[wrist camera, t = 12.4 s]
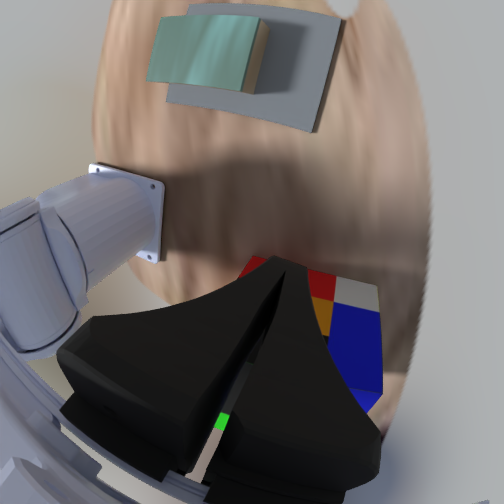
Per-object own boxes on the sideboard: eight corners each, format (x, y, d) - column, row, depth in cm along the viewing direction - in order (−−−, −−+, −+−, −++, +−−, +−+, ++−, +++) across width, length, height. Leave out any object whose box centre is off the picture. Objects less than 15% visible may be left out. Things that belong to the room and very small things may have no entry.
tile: (253, 94, 16) (166, 82, 17) (270, 29, 13) (180, 25, 14) (239, 91, 14) (145, 81, 15) (259, 17, 11) (161, 17, 12)
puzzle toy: (376, 285, 19) (382, 393, 11) (340, 366, 24) (324, 457, 16) (253, 255, 22) (192, 343, 13) (244, 341, 27) (201, 422, 18)
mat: (168, 102, 18) (165, 102, 18) (191, 5, 13) (189, 4, 13) (311, 132, 16) (311, 132, 16) (341, 20, 12) (341, 18, 11)
